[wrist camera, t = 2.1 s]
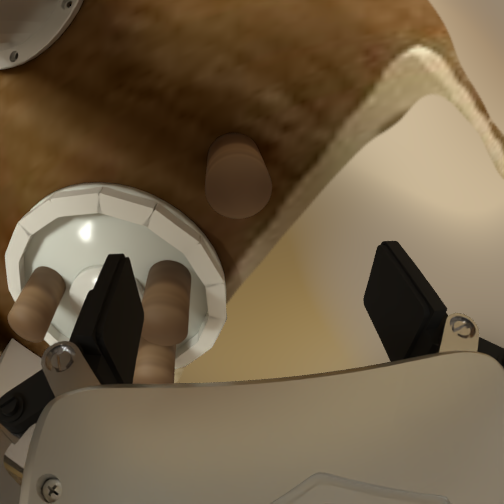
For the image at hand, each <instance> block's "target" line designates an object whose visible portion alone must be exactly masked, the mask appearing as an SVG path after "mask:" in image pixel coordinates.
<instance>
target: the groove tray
mask: <svg viewBox="0 0 504 504" xmlns="http://www.w3.org/2000/svg"><path fill="white" fill-rule="evenodd" d="M121 253H123V254H124V255H125V257H129V258H130V261H131V265H132V269H133V273H134V277H135V281H136V285H137V288H138V292H139V296H140V299H141V303H142V298H143V294H144V290H145V285H146V281H147V277H148V273H149V270H150V268H151V267H152V266H153V265H154V264H155V263H157V262H159V261H163V260H173V261H177V262H179V263H181V264H183V265H184V266H185V267H186V268H187V269H188V270H189V272H190V274H191V292H190V307H189V324H188V335H187V337H186V338H185V340H183V341H182V342H181V343H179V344H176V356H175V369H177V368H181V367H185V366H187V365H188V364H190V363H191V362H193V361H194V360H196V359H197V358H198V357H200V356H201V355H203V354H204V353H205V352H207V351H208V350H209V349H211V348H212V347H213V345H214V343H215V341H216V339H217V337H218V335H219V333H220V331H221V330H222V327H223V326H224V324H225V322H226V320H227V314H226V283H225V276H224V271H223V268H222V265H221V262H220V259H219V257H218V255H217V253H216V251H215V249H214V247H213V246H212V244H211V243H210V242H209V240H208V239H207V237H206V236H205V234H204V233H203V232H202V231H201V230H200V229H199V228H198V227H197V225H196V224H195V223H194V222H193V221H191V220H190V219H189V218H188V217H187V216H186V215H185V214H183V213H182V212H181V211H180V210H178V209H177V208H175V207H174V206H172V205H171V204H169V203H168V202H166V201H164V200H162V199H160V198H158V197H156V196H154V195H152V194H150V193H147V192H145V191H142V190H139V189H136V188H134V187H129V186H125V185H120V184H116V183H104V182H92V183H81V184H76V185H71V186H67V187H65V188H62V189H59V190H57V191H55V192H53V193H51V194H49V195H48V196H46V197H45V198H43V199H42V200H41V201H40V202H38V203H37V204H36V205H35V206H34V207H33V208H32V209H31V210H30V211H29V212H28V213H27V214H26V215H24V216H23V218H22V219H21V220H20V221H19V222H18V223H17V226H16V228H15V230H14V233H13V235H12V238H11V240H10V243H9V246H8V248H7V251H6V254H5V261H6V271H7V280H8V288H9V291H10V293H11V295H12V297H13V299H14V301H15V302H16V300H17V298H18V296H19V295H20V293H21V291H22V290H23V288H24V286H25V284H26V283H27V281H28V279H29V278H30V276H31V275H32V273H33V271H34V270H35V269H36V268H37V267H40V266H46V267H49V268H52V269H54V270H55V271H57V272H58V273H59V274H60V275H61V277H62V278H63V280H64V282H65V285H66V290H65V293H64V295H63V297H62V299H61V301H60V303H59V305H58V308H57V310H56V312H55V314H54V317H53V319H52V321H51V324H50V326H49V328H48V331H47V333H46V336H45V338H44V340H45V341H46V342H47V343H48V344H49V345H50V346H51V345H53V344H55V343H57V342H61V341H69V340H70V337H71V334H72V331H73V329H74V326H75V324H76V321H77V318H78V316H79V313H80V311H81V308H82V306H83V303H84V301H85V299H86V296H87V294H88V292H89V291H90V290H91V289H93V288H94V286H95V283H96V281H97V279H98V276H99V274H100V272H101V269H102V267H103V265H104V263H105V260H106V258H107V256H108V255H109V254H121Z"/></svg>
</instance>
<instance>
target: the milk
mask: <svg viewBox="0 0 504 504" xmlns="http://www.w3.org/2000/svg"><path fill="white" fill-rule="evenodd" d="M41 359H42V358H40V357H39V356H37V355H36V354H34V353H33V352H31V351H30V350H28V349H27V348H25V347H24V346H23V345H21V344H20V343H18V342H17V341H16V340H14V339H13V338H12V339H11V340H10V342H9V343H8V345H7V347H6V348H5V350H4V351H3V353H2V355H1V357H0V398H1V397H2V396H3V395H4V394H5V393H7V392H8V391H10V390H11V389H13V388H14V387H16V386H17V385H19V384H20V383H22V382H23V381H25V380H26V379H28V378H29V377H31V376H32V375H34V374H35V373H37V372H38V371H40V370H41V369H42V366H41Z"/></svg>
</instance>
